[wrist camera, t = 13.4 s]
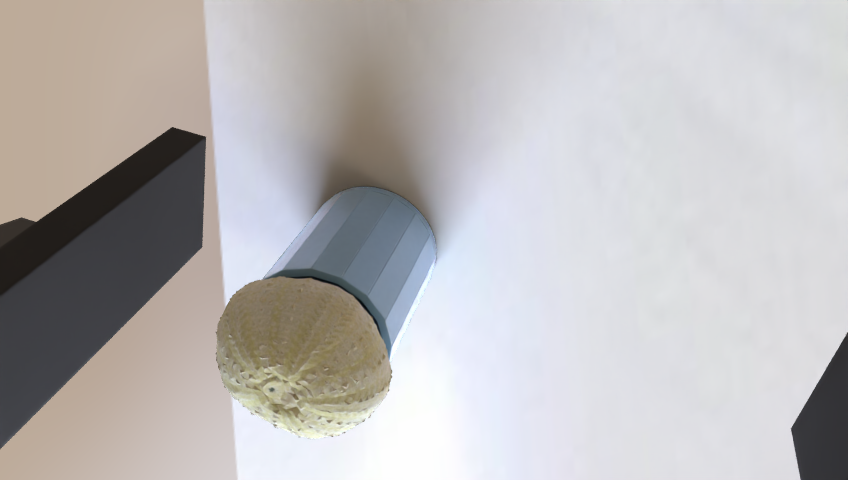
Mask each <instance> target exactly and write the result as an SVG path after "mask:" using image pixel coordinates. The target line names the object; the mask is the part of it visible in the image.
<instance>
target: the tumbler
mask: <svg viewBox="0 0 848 480" xmlns="http://www.w3.org/2000/svg"><path fill="white" fill-rule="evenodd" d="M435 263H436V242H435V238H434V235H433V232H432V230H431V228H430V226H429V224H428V222H427V221H426V219H425V218H424V216H423V215H422V214H421V213H420V212H419V211H418V209H417V208H416V207H415V206H413V205H412V204H411V203H410V202H408V201H407V200H406V199H404V198H402V197H401V196H399V195H397V194H395V193H393V192H390V191H387V190H385V189H380V188H376V187H355V188H350V189H346V190H343V191H341V192H339V193H337V194H335V195H334V196H332V197H331V198H330V199H329V200H328V201H327V202H325V203H324V204H323V205H322V206H321V208H320V209H319V210H318V211H317V212H316V214H315V215H314V216H313V217H312V219H311V220H310V221H309V222H308V224H307V225H306V226H305V227H304V228H303V230H302V231H301V232H300V233H299V235H298V236H297V237H296V238H295V240H294V241H293V242H292V243H291V244H290V246H289V247H288V248H287V249H286V251H285V252H284V253H283V254H282V256H281V257H280V258H279V259H278V260H277V262H276V263H275V264H274V265H273V267H272V268H271V269H270V270H269V272H268V273H267V274H266V275H265V276H264V278H263V279H262V280H264V279H270V278H277V277H279V276H281V277H283V276H284V277H286V278H294V279H305V278H312V279H314V280H318V281H320V282H323V283H328V284H331V285H334V286H338V287H340V288H341V289H343V290H344V291H345V292H347V293H349V294H351V295H353V296H354V297H355V299H356V300H357V301H358V302H359V303H360V304H361V306H362V307H363V308H364V309H365V310H366V311H367V313H368V314H369V315H370V316H372V317H373V320H374V324H376V326H377V329H378V332H379V333H380V336H381V337H382V339H383V340H384V343H385V344H386V349H387V350H388V351H387V353H388V358H389V361H390V363H391V361H392V359H393V356H394V354H395V352H396V350H397V348H398V346H399V344H400V342H401V340H402V338H403V335H404V333H405V331H406V329H407V327H408V325H409V323H410V321H411V319H412V316H413V314H414V312H415V310H416V308H417V306H418V304H419V302H420V300H421V298H422V295H423V293H424V291H425V289H426V287H427V285H428V283H429V281H430V279H431V275H432V272H433V269H434V266H435Z"/></svg>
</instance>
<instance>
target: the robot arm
mask: <svg viewBox="0 0 848 480" xmlns="http://www.w3.org/2000/svg"><path fill="white" fill-rule="evenodd" d="M205 149H206V137H205V136H201V135H198V134H194V133H191V132H187V131H184V130H180V129H176V128H173V127H172V128H170V129H169V130H167V131H166V132H165V133H163V134H162V135H161V136H159V137H157V138H156V139H155V140H153V141H152V142H150V143H149V144H147V145H146V146H145V147H143V148H142V149H140V150H139V151H137V152H136V153H134V154H133V155H132V156H130V157H129V158H127V159H126V160H125V161H123V162H122V163H120V164H119V165H117V166H116V167H115V168H113V169H112V170H110V171H109V172H107V173H106V174H105V175H103V176H102V177H100V178H99V179H97V180H96V181H95V182H93V183H92V184H90V185H89V186H88V187H86V188H84V189H83V190H82V191H80V192H79V193H77V194H76V195H74V196H73V197H72V198H70V199H69V200H67V201H66V202H64V203H63V204H62V205H60V206H59V207H57V208H56V209H54V210H53V211H52V212H50V213H49V214H47V215H46V216H44V217H43V218H42V219H40V220H39V221H37V222H34V221H31V220H28V219H25V218H19V219H16V220H13V221H10V222H7V223H4V224H1V225H0V448H2V447H3V446H4V445H5V444H6V443H7V442H8V441H9V440H10V439H11V438H12V437H13V436H14V435H15V434H16V433H17V432H18V431H19V430H20V429H21V428H22V427H23V426H24V425H25V424H26V423H27V422H28V421H29V420H30V419H31V418H32V416H34V415H35V414H36V413H37V412H38V411H39V410H40V409H41V408H42V407H43V405H45V404H46V403H47V402H48V401H49V400H50V399H51V398H52V397H53V396H54V395H55V394H56V393H57V392H58V391H59V390H60V389H61V388H62V387H63V386H64V385H65V384H66V383H67V381H69V380H70V379H71V378H72V377H73V376H74V375H75V374H76V373H77V372H78V370H80V369H81V368H82V367H83V366H84V365H85V364H86V363H87V362H88V361H89V360H90V359H91V358H92V357H93V356H94V355H95V354H96V353H97V352H98V351H99V350H100V349H101V348H102V347H103V346H104V345H105V344H106V342H108V341H109V340H110V339H111V338H112V337H113V336H114V335H115V334H116V333H117V332H118V331H119V330H120V329H121V327H123V326H124V325H125V324H126V323H127V321H129V320H130V319H131V318H132V317H133V316H134V315H135V314H136V313H137V312H138V311H139V310H140V309H141V308H142V307H143V306H144V305H145V304H146V303H147V302H148V301H149V300H150V298H152V297H153V296H154V295H155V294H156V293H157V292H158V291H159V290H160V289H161V288H162V287H163V286H164V285H165V284H166V283H167V282H168V280H170V279H171V278H172V277H173V276H174V275H175V274H176V273H177V272H178V271H179V270H180V268H182V266H183V265H185V263H187V262H188V260H190V259H191V257H193V256H194V255H195V254H196V253H197V251H198V250H200V249H201V248H202V237H203V208H204V177H205ZM791 431H792V436H793V441H794V447H795V452H796V457H797V463H798V468H799V473H800V478H801V480H848V333H847V334H846V336H845V338H844V340H843V341H842V343H841V345H840V346H839V348H838V350H837V351H836V353H835V355H834V357H833V358H832V360H831V362H830V363H829V365H828V367H827V368H826V370H825V372H824V374H823V375H822V377H821V379H820V380H819V382H818V384H817V385H816V387H815V389H814V391H813V392H812V394H811V396H810V397H809V399H808V401H807V402H806V404H805V406H804V408H803V409H802V411H801V413H800V414H799V416H798V418H797V419H796V421H795V423H794V424H793V426H792V428H791Z"/></svg>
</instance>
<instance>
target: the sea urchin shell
mask: <svg viewBox="0 0 848 480" xmlns="http://www.w3.org/2000/svg"><path fill="white" fill-rule="evenodd" d="M216 334H217V352H216V355H217V357H216V361H217V363H218V368H219V370H220V373H221V377H222V381H223V384H224V387H225V388H227V390H228V391H229V393H230V394H231V395H232V396H233V398H235V399H236V400H237V401H239V402H240V403H241V404H242V405H243V407H246V408H247V409H248V410H249V411H250V412H251V414H253V415H256V416H258V417H260V418H262V419H264V420H266V421H268V422H269V423H271V424H273V425H274V427H275V428H281V429H284V430H286V431H289V432H291V433H293V434H295V435H297V436H298V437H306V438H309V439H318V438H323V437H327V436H332V437H333V436H339V435H340V434H341V433H345V432H346V431H348V430H349V429H352V428H354V427H355V426H356V425H358V424H359V423H361V422H364V421H365V419H366V418H369V417H370V416H371V413H373V412H374V410H375V408H377V407H378V406H379V405H380V404H381V402H382V401H383V399H384V398H385V397H386V395H387V392H388V391H389V385H390V380H391V378H392V376H391V374H392V370H391V367H390V361H389V358H388V353H387V351H388V350H387V349H386V344H385V343H384V340H383V339H382V337H381V336H380V333H379V332H378V329H377V326H376V324H374V320H373V317H372V316H370V315H369V314H368V313H367V311H366V310H365V309H364V308H363V307H362V306H361V304H360V303H359V302H358V301H357V300H356V299H355V297H354V296H353V295H351V294H349V293H347V292H345V291H344V290H343V289H341V288H340V287H338V286H334V285H331V284H328V283H323V282H320V281H318V280H314V279H312V278H305V279H294V278H286V277H284V276H283V277H281V276H279V277H277V278H270V279H264V280H258V281H254V282H251V283H249V284H248V285H245V286H244V287H243V288H241V289H240V290H239V291H236V294H234V295H233V296H232V298H230V301H229V303H228V304H227V306H226V308H225V311H224V313H223V315H222V317H221V318H220V321H219V323H218V329H217V332H216Z"/></svg>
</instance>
